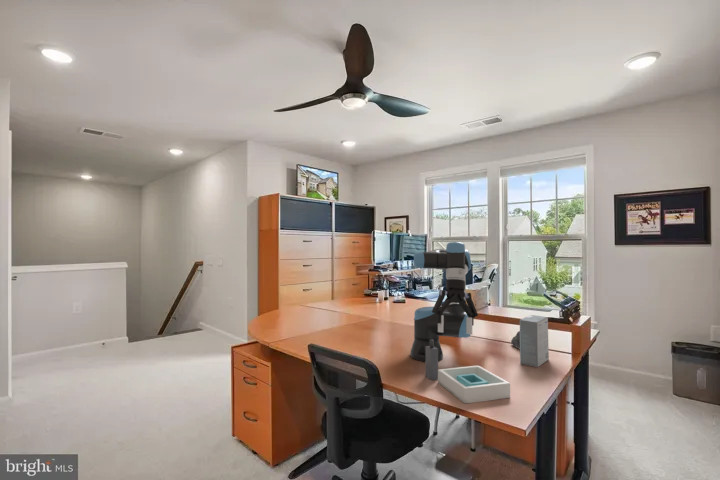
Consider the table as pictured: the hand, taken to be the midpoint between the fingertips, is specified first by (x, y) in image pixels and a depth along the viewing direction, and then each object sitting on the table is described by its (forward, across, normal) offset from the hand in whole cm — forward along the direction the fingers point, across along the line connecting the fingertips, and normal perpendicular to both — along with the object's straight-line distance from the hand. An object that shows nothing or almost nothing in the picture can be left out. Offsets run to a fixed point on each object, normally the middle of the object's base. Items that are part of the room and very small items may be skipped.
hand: (455, 333), depth 133 cm
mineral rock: (+7, +60, +26) cm, 66 cm away
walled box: (+19, +2, -7) cm, 21 cm away
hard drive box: (+11, +49, +8) cm, 51 cm away
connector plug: (+18, -6, +8) cm, 20 cm away
